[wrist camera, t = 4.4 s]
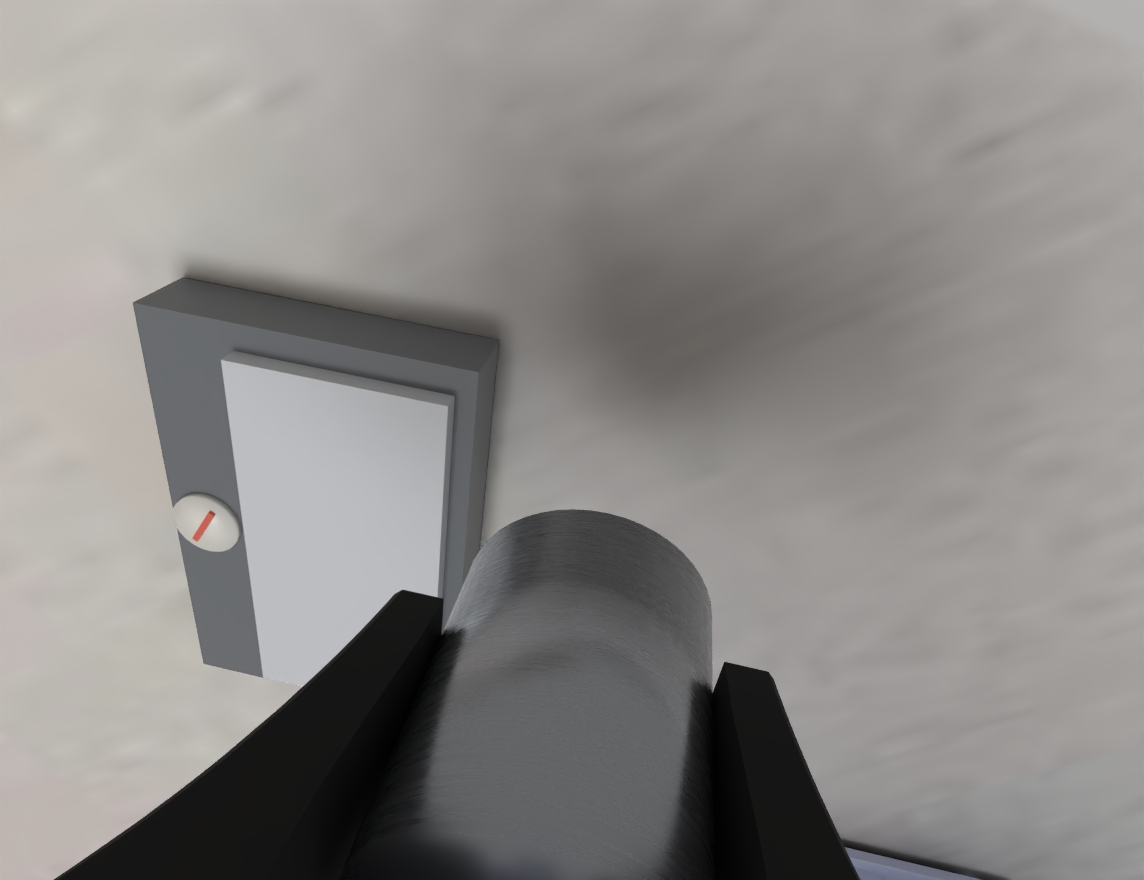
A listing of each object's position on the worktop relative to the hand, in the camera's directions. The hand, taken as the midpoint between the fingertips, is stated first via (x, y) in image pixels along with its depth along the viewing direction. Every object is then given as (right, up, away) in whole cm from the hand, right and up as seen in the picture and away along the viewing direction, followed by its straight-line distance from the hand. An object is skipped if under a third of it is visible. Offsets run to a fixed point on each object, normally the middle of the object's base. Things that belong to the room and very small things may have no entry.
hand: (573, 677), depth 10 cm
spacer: (0, +1, +1) cm, 2 cm away
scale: (-6, +2, +10) cm, 12 cm away
